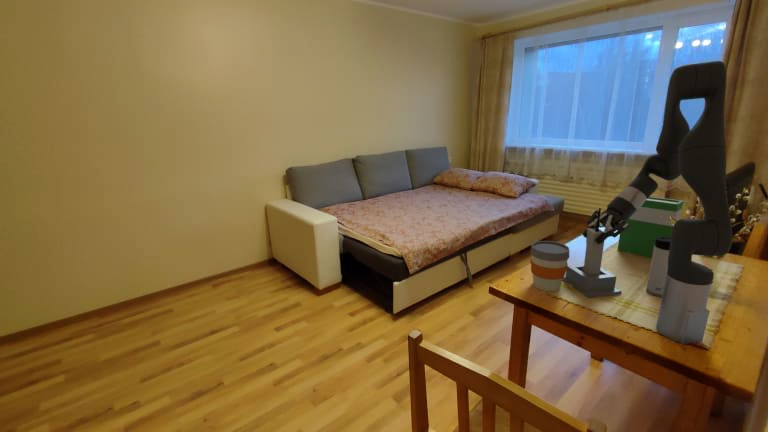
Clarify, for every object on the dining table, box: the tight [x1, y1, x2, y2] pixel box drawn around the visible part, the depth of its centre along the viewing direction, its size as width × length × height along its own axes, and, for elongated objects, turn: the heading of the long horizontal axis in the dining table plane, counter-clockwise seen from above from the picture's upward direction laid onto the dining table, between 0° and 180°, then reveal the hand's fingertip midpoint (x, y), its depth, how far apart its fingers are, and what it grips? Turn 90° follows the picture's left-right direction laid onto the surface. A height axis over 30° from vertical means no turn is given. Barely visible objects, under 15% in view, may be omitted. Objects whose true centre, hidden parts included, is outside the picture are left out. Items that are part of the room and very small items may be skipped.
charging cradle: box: [562, 263, 622, 299], centre depth 125 cm, size 16×12×6 cm
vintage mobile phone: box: [582, 207, 605, 276], centre depth 121 cm, size 4×5×25 cm
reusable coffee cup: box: [530, 240, 570, 292], centre depth 125 cm, size 13×13×15 cm
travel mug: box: [645, 237, 671, 298], centre depth 116 cm, size 6×7×20 cm
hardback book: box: [617, 196, 684, 259], centre depth 147 cm, size 18×7×24 cm, turn 39°
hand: (590, 239), depth 121 cm, fingers closed on vintage mobile phone, 5 cm apart
